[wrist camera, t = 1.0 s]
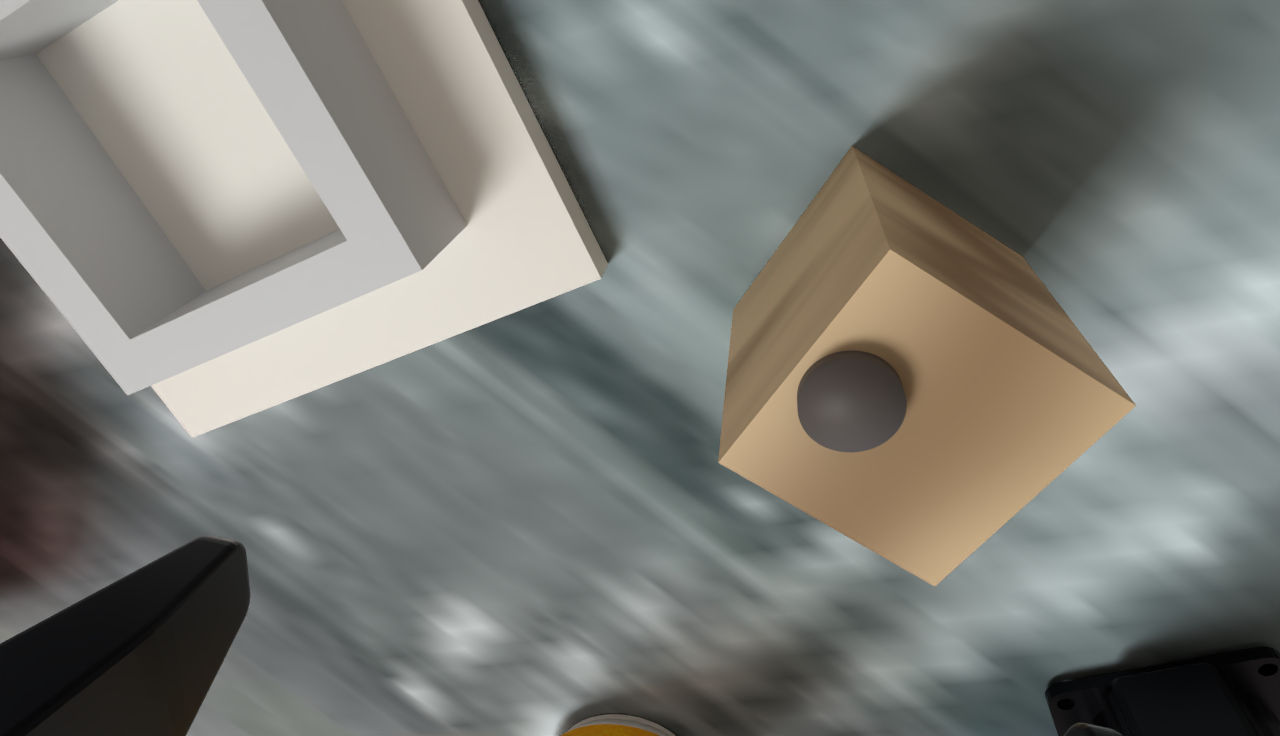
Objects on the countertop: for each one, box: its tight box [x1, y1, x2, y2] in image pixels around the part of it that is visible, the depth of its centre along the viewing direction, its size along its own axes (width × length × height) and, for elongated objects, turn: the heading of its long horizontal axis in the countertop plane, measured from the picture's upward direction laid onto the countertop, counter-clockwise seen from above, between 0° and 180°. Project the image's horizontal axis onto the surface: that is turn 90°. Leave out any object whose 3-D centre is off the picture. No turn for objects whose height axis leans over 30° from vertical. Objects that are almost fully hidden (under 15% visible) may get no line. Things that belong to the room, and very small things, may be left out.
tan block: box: [718, 146, 1136, 586], centre depth 17 cm, size 5×5×7 cm
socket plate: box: [0, 0, 608, 438], centre depth 19 cm, size 14×14×4 cm
